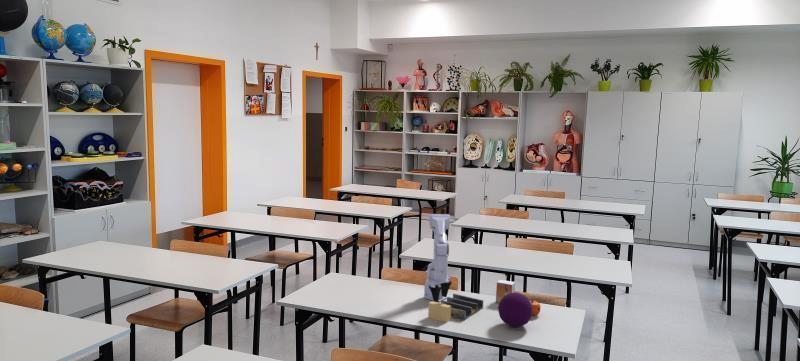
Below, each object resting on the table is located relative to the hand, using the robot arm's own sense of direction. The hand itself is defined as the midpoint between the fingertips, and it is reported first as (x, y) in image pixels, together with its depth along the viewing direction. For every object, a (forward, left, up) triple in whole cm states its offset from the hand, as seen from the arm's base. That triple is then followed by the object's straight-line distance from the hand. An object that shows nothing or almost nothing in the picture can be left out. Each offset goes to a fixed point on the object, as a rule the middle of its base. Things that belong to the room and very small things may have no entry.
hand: (440, 298), depth 260 cm
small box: (+15, +39, -10) cm, 43 cm away
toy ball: (+31, +13, -10) cm, 35 cm away
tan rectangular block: (0, 0, -10) cm, 10 cm away
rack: (+2, +15, -9) cm, 18 cm away
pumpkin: (+32, +31, -10) cm, 46 cm away
